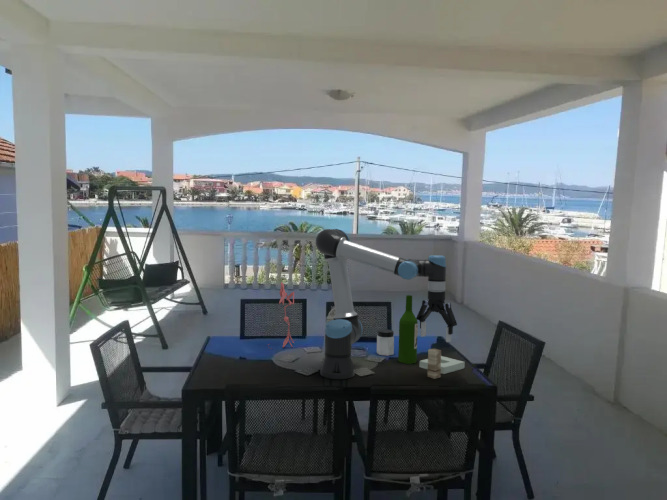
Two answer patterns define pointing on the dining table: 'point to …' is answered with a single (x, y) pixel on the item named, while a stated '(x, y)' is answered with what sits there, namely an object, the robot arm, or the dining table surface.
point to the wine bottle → (408, 335)
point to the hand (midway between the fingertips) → (435, 338)
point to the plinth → (445, 365)
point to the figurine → (283, 295)
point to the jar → (385, 342)
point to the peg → (434, 363)
